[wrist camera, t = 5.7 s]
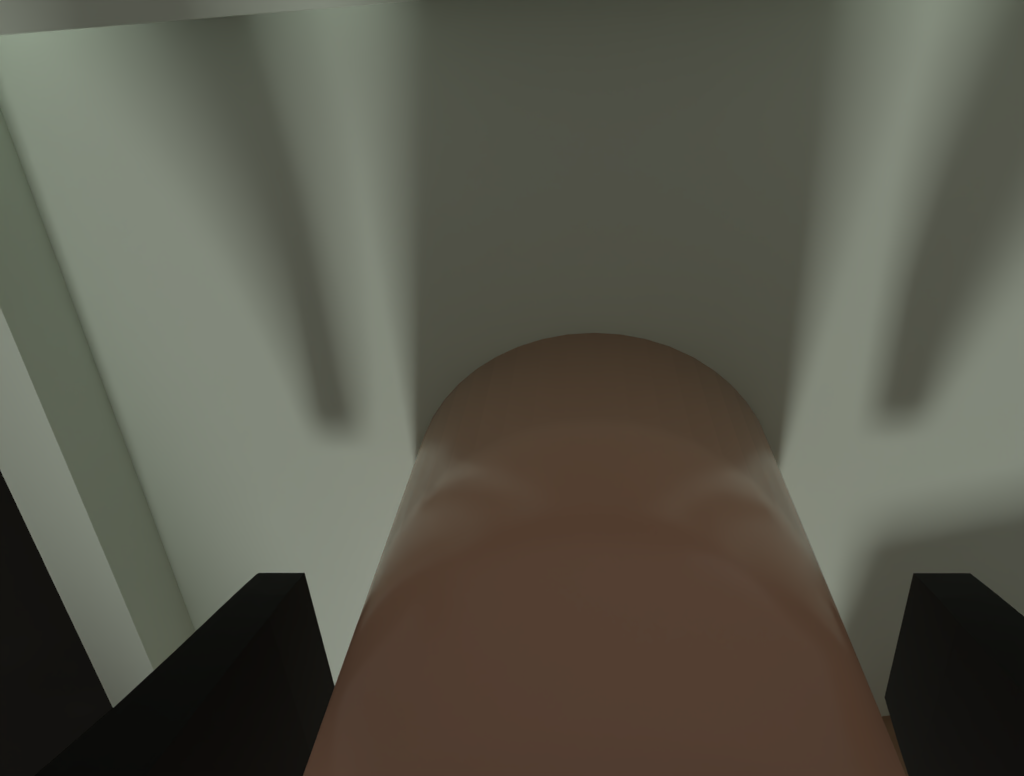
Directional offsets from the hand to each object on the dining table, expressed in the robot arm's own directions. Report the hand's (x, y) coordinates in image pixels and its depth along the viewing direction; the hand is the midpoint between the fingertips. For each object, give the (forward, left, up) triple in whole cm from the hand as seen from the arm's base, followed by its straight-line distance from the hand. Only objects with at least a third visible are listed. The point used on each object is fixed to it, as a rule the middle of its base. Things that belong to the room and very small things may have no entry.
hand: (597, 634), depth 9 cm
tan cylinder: (0, 0, -2) cm, 2 cm away
